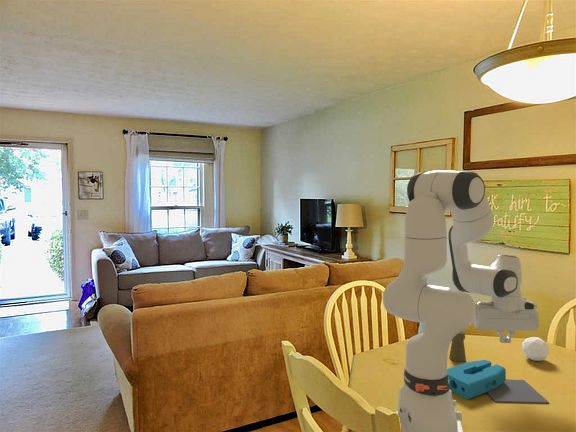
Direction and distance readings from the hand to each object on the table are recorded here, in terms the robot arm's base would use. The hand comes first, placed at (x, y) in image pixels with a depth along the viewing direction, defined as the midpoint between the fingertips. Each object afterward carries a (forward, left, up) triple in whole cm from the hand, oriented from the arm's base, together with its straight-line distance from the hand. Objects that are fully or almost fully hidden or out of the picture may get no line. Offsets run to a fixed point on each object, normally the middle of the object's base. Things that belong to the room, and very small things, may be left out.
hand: (505, 342), depth 136 cm
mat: (-6, +1, -14) cm, 15 cm away
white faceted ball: (+22, -21, -14) cm, 33 cm away
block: (+3, +2, -11) cm, 11 cm away
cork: (+20, +9, -14) cm, 26 cm away
